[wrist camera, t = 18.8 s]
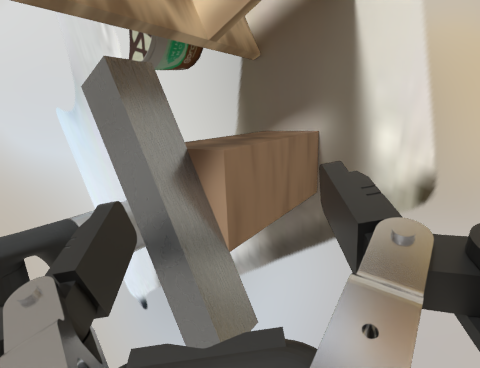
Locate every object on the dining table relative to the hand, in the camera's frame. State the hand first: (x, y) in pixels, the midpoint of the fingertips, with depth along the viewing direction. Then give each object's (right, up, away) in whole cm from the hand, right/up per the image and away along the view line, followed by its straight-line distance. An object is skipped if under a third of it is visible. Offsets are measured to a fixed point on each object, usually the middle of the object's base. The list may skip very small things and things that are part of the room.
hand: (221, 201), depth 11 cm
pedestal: (+8, +4, +27) cm, 29 cm away
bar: (-4, 0, +12) cm, 13 cm away
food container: (-6, +23, +32) cm, 40 cm away
